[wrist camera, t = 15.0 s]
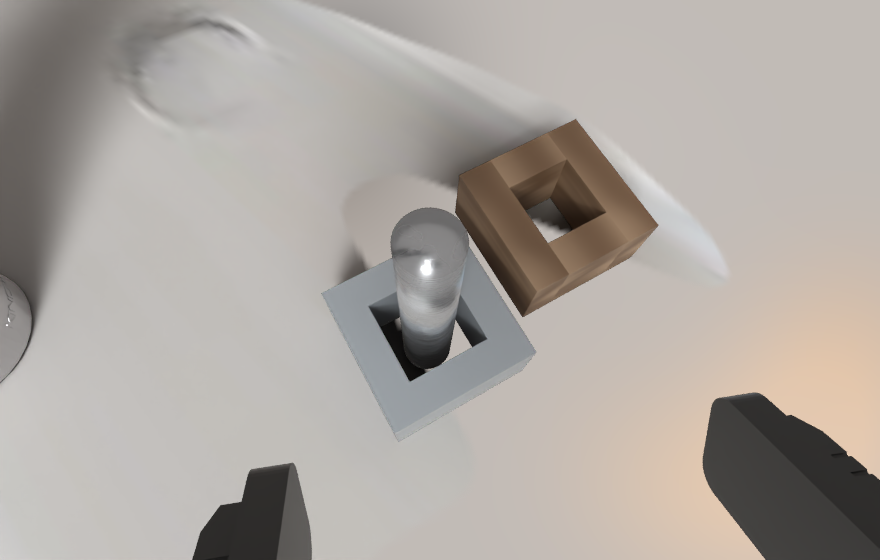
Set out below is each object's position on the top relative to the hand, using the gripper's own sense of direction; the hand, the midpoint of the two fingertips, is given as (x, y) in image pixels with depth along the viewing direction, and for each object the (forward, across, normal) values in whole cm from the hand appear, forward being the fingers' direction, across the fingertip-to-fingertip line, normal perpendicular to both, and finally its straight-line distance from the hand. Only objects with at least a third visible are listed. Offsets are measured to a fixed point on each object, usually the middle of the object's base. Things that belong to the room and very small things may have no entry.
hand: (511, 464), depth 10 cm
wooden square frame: (+28, -10, +6) cm, 30 cm away
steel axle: (+23, 0, +11) cm, 26 cm away
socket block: (+23, 0, +11) cm, 26 cm away
